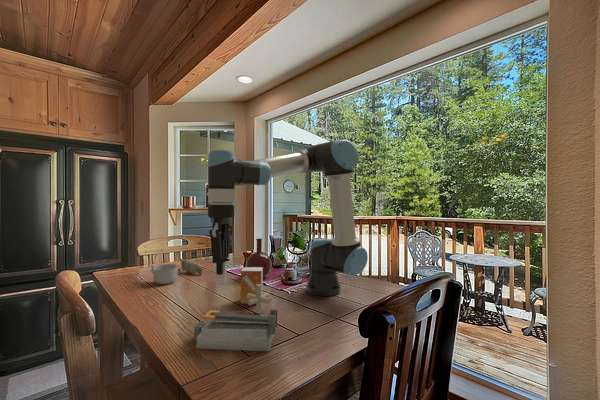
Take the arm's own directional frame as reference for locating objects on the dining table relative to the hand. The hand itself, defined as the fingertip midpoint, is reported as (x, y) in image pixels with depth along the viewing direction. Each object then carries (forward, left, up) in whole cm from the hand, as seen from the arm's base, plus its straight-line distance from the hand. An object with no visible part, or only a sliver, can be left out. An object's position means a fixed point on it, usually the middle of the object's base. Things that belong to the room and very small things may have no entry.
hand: (220, 284), depth 85 cm
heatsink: (-5, 0, -16) cm, 17 cm away
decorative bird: (+40, -71, -16) cm, 83 cm away
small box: (-2, -31, -16) cm, 35 cm away
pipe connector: (-7, -20, -16) cm, 27 cm away
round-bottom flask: (+2, -66, -16) cm, 68 cm away
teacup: (+46, -53, -16) cm, 72 cm away
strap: (-6, 0, -10) cm, 12 cm away
